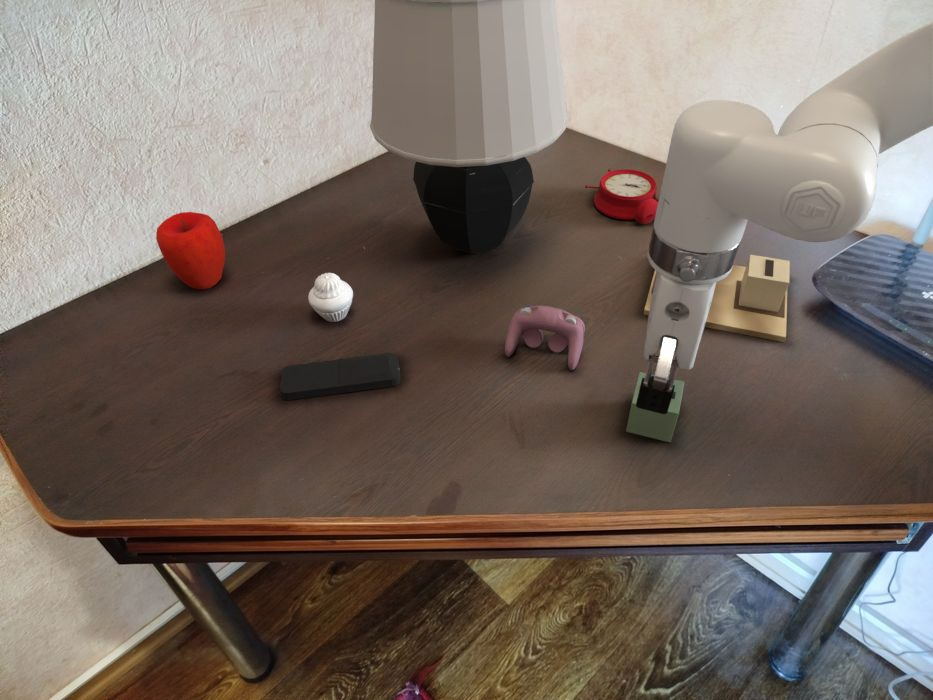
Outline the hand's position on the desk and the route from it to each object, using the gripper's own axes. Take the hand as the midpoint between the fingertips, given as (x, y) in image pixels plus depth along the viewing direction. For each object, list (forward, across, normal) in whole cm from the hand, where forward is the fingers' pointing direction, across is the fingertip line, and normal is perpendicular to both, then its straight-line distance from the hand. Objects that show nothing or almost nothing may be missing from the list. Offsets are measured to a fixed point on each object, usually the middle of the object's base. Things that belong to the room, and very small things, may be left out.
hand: (658, 376), depth 69 cm
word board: (+7, +26, -6) cm, 27 cm away
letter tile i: (+7, 0, 0) cm, 7 cm away
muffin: (+8, +5, +44) cm, 46 cm away
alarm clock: (+8, +45, +10) cm, 47 cm away
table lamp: (+8, +27, +32) cm, 43 cm away
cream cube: (+6, +26, -11) cm, 28 cm away
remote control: (+8, -6, +38) cm, 39 cm away
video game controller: (+8, +7, +14) cm, 18 cm away
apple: (+9, +6, +68) cm, 68 cm away
